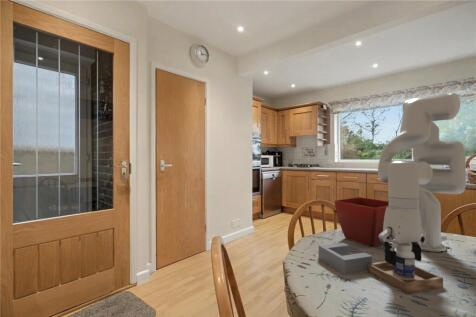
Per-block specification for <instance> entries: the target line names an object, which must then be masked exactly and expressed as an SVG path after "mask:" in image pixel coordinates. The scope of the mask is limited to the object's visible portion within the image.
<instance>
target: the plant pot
mask: <svg viewBox="0 0 476 317" xmlns="http://www.w3.org/2000/svg"><path fill="white" fill-rule="evenodd" d="M334 205H335V206H334V207H335V211H336V215H337V219H338V223H339V225H340V228H341V231H342V234H343V236H344V238H345V239H347V240H350V241H353V242H355V243H358V244H359V243H360V244H362V245H365V246H369V247H376V246H379V245H382V244H381V241H380V239H379V237H378V236H379V234H381V233H382V232H383V225H384V216H385V211H386V207H388V201H387V200H381V199H375V198H368V197H362V196H358V197H349V198H344V199H343V198H342V199H336V200H334Z"/></svg>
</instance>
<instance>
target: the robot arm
mask: <svg viewBox="0 0 476 317" xmlns="http://www.w3.org/2000/svg"><path fill="white" fill-rule="evenodd" d="M460 110H461V99H460V96H459V95H458V94H457V93H456V92H450V93H443V94H436V95H428V96H420V97H414V98H411V99H408V100H406V101H404V102H403V104H402V119H401V124H400V129H399V130H400V131H399V134H398V135H396V136H395V137H393V138H392V139H391V140H390V141H388V143H387V144H386V145H385V146H384V147H383V148H382V151H381V153H380V156H379V161H378V166H377V176H378V179H379V180H380V181H381V182H383V183H387V185H388V186H387V190H388V194H387V198H388V199H387V200H388V207H386V211H385V216H384V225H383V232H382V233H381V234H379V236H378V237H379V239H380V241H381V244H380V245H382V248H384V261H386V262H388V263H390V264H392V265H396V251H394V250H395V249H396V247H397V245H398V244H404V243H410V244H411V245H412V250H411V251H412V252H413V253H414V255H415V261H418V262H421V261H422V250H423V251H426V252H432V253H433V252H434V253H435V252H437V253H441V251H443V252H445V251H446V250H447V247H446V245H445V244H443V243H442V242H445V241H448V237H447V236H446V235H441V233H442V225H441V224H442V223H441V222H442V219H441V218H442V217H441V215H442V214H441V213H442V212H441V211H442V206H441V202H440V200H439V199H438V198H437V197H436V196H435V195H434V194H447V195H460V194H461V195H462V194H463V193H465V190H466V187H467V177H466V176H467V174H466V173H467V170H466V168H467V166H466V160H467V158H466V148H465V146H464V144H463V143H462V142H461V141H459V140H441V139H440V128H439V126H438V125H437V124H436V123H435V122H436V121H449V120H453V119H455V117H456V116H457V115H458V114H459V112H460ZM411 149H412V158H413V160H404V159H403V160H398V159H397V160H395V159H394V158H395V156H397V155H399V154H401V153H403V152H405V151H407V150H411ZM393 159H394V160H393ZM432 166H446V167H449V168H433V167H432Z"/></svg>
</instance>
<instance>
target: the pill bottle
mask: <svg viewBox="0 0 476 317" xmlns="http://www.w3.org/2000/svg"><path fill="white" fill-rule="evenodd" d="M411 250H412V245H411V244H410V243H404V244H398V245H397V247H396V248H395V250H394V251H396V265H393V275H394V276H395V277H397V278H399V279H402V280H414V277H415V266H416V265H415V264H416V260H415V255H414V253H413V252H412V251H411Z"/></svg>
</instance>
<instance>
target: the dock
mask: <svg viewBox="0 0 476 317" xmlns="http://www.w3.org/2000/svg"><path fill="white" fill-rule="evenodd" d="M349 252H350V245H349V244H347V243H344V242H338V243H336V242H335V243H329V244H328V243H327V244H319V245H318V259H319V260H321V261H323V263H325V264H327V265H329V266H330V267H332V269H335V271H338V272H340V273H341V274H343V275H344V276H347V275H352V274H353V275H354V274H358V273H364V272H368V264H371V263H373V256H372V255H371V254H369V253H366V252H360V253H351V254H350V253H349Z"/></svg>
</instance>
